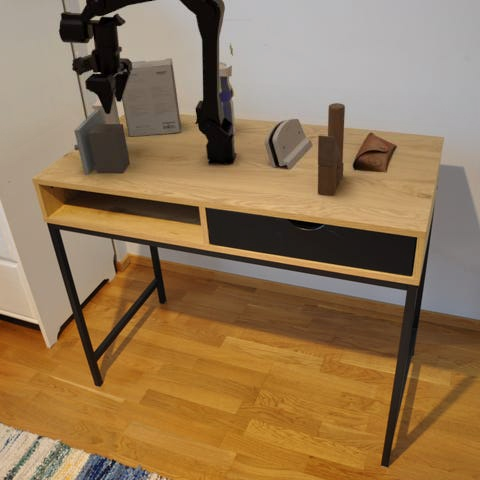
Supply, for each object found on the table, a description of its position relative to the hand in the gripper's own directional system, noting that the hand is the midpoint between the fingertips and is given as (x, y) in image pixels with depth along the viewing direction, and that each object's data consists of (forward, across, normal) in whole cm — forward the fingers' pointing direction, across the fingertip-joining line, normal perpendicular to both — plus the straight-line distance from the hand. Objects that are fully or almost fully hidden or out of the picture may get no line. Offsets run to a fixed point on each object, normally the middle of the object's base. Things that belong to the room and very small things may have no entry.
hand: (113, 107), depth 141 cm
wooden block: (+11, +15, +56) cm, 58 cm away
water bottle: (+13, -19, +25) cm, 34 cm away
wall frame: (+15, -13, -6) cm, 20 cm away
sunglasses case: (+10, -1, +67) cm, 68 cm away
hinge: (+12, -3, +45) cm, 47 cm away
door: (+15, +1, -7) cm, 17 cm away
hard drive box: (+15, -22, +4) cm, 26 cm away
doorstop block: (+15, +5, 0) cm, 15 cm away
